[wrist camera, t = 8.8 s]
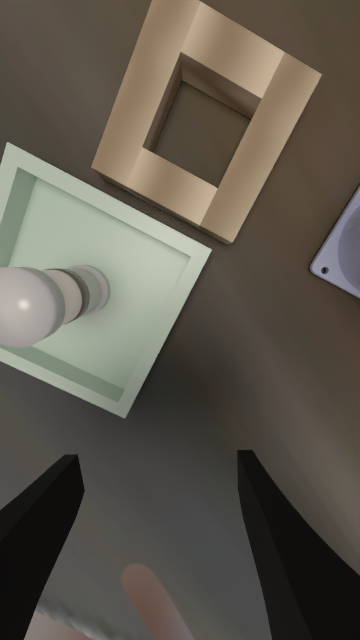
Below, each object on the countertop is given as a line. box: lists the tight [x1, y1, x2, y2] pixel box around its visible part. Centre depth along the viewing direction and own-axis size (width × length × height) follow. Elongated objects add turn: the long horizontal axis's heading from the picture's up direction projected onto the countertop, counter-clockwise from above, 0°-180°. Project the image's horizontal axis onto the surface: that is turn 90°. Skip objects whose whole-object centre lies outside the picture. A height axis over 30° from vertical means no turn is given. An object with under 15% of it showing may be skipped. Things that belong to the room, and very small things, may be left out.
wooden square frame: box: [91, 0, 322, 245], centre depth 15 cm, size 10×10×2 cm
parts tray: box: [0, 142, 212, 418], centre depth 18 cm, size 14×14×2 cm
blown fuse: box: [0, 265, 110, 348], centre depth 15 cm, size 4×4×8 cm
